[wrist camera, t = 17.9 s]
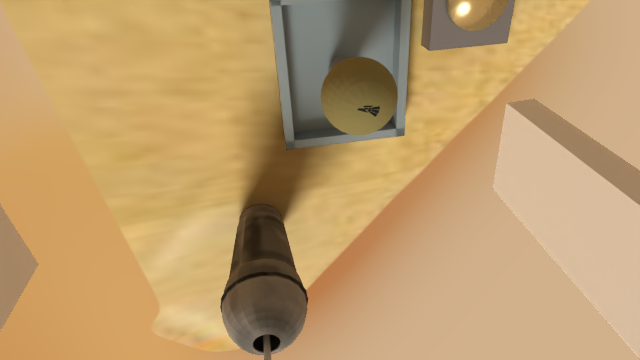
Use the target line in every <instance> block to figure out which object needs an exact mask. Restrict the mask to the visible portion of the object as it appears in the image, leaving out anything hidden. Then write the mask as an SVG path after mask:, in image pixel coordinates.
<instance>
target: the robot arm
mask: <svg viewBox="0 0 640 360" xmlns="http://www.w3.org/2000/svg"><path fill="white" fill-rule="evenodd" d="M493 190H494V191H495V192H496V193H497V195H498V196H499V197H500V198H501V199H502V200H503V201H504V202H505V204H506V205H507V206H508V207H509V208H510V209H511V211H512V212H513V213H514V214H515V215H516V217H517V218H518V219H519V220H520V221H521V222H522V223H523V225H524V226H525V227H526V228H527V229H528V230H529V232H530V233H531V234H532V235H533V236H534V237H535V239H536V240H537V241H538V242H539V243H540V244H541V245H542V247H543V248H544V249H545V250H546V251H547V252H548V254H549V255H550V256H551V257H552V258H553V259H554V261H555V262H556V263H557V264H558V265H559V266H560V268H561V269H562V270H563V271H564V272H565V273H566V274H567V276H568V277H569V278H570V279H571V280H572V281H573V283H574V284H575V285H576V286H577V287H578V288H579V289H580V291H581V292H582V293H583V294H584V295H585V297H586V298H587V299H588V300H589V301H590V302H591V303H592V305H593V306H594V307H595V308H596V309H597V310H598V312H599V313H600V314H601V315H602V316H603V317H604V319H605V320H606V321H607V322H608V323H609V324H610V326H612V328H613V329H614V330H615V331H616V332H617V334H618V335H619V336H620V337H621V338H622V339H623V340H624V342H625V343H626V344H627V345H628V346H629V347H630V349H631V350H632V351H633V352H634V353H635V354H636V356H637V357H638V358H639V359H640V171H639V170H638V169H637V168H635V167H634V166H632V165H631V164H629V163H628V162H626V161H625V160H623V159H622V158H620V157H619V156H617V155H616V154H614V153H613V152H611V151H610V150H608V149H607V148H606V147H604V146H603V145H601V144H600V143H598V142H597V141H595V140H594V139H592V138H591V137H589V136H588V135H587V134H585V133H584V132H582V131H581V130H579V129H578V128H576V127H575V126H573V125H572V124H570V123H569V122H567V121H566V120H565V119H563V118H562V117H560V116H559V115H557V114H556V113H554V112H553V111H551V110H550V109H548V108H547V107H545V106H544V105H542V104H541V103H539V102H538V101H537V100H535V99H531V100H524V101H518V102H511V103H507V104H506V110H505V116H504V122H503V128H502V135H501V141H500V147H499V154H498V160H497V165H496V172H495V178H494V184H493ZM37 266H38V263H37V261H36V259H35V258H34V256H33V255H32V253H31V252H30V250H29V249H28V247H27V245H26V244H25V242H24V241H23V239H22V238H21V236H20V234H19V233H18V231H17V230H16V229H15V227H14V225H13V224H12V222H11V220H10V219H9V217H8V216H7V214H6V213H5V211H4V209H3V208H2V206H1V205H0V331H1V329H2V327H3V325H4V324H5V322H6V320H7V318H8V317H9V315H10V313H11V312H12V310H13V308H14V306H15V305H16V303H17V301H18V299H19V298H20V296H21V294H22V292H23V290H24V289H25V287H26V285H27V284H28V282H29V280H30V278H31V277H32V275H33V273H34V271H35V270H36V268H37Z"/></svg>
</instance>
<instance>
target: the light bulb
mask: <svg viewBox="0 0 640 360" xmlns="http://www.w3.org/2000/svg"><path fill="white" fill-rule="evenodd" d="M397 101H398V90H397V86H396V82H395V80H394V78H393V76H392V74H391V73H390V72H389V70H388V69H387V68H386V67H385V66H384V65H382V64H381V63H379V62H378V61H376V60H373V59H371V58H366V57H352V58H346V57H339V58H336V59H335V60H333V61H332V62H331V64H330V65H329V68H328V74H327V76H326V77H325V79H324V82H323V84H322V89H321V104H322V108H323V111H324V113H325V116H326V117H327V119H328V120H329V122H330V123H331V124H332V125H333V126H334V127H336V128H337V129H339V130H340V131H342V132H345V133H347V134H351V135H367V134H370V133H373V132H375V131H377V130H379V129H381V128H382V127H383V126H384V125H386V124H387V122H388V121H389V120H390V119H391V117H392V116H393V114H394V112H395V109H396V106H397Z"/></svg>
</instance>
